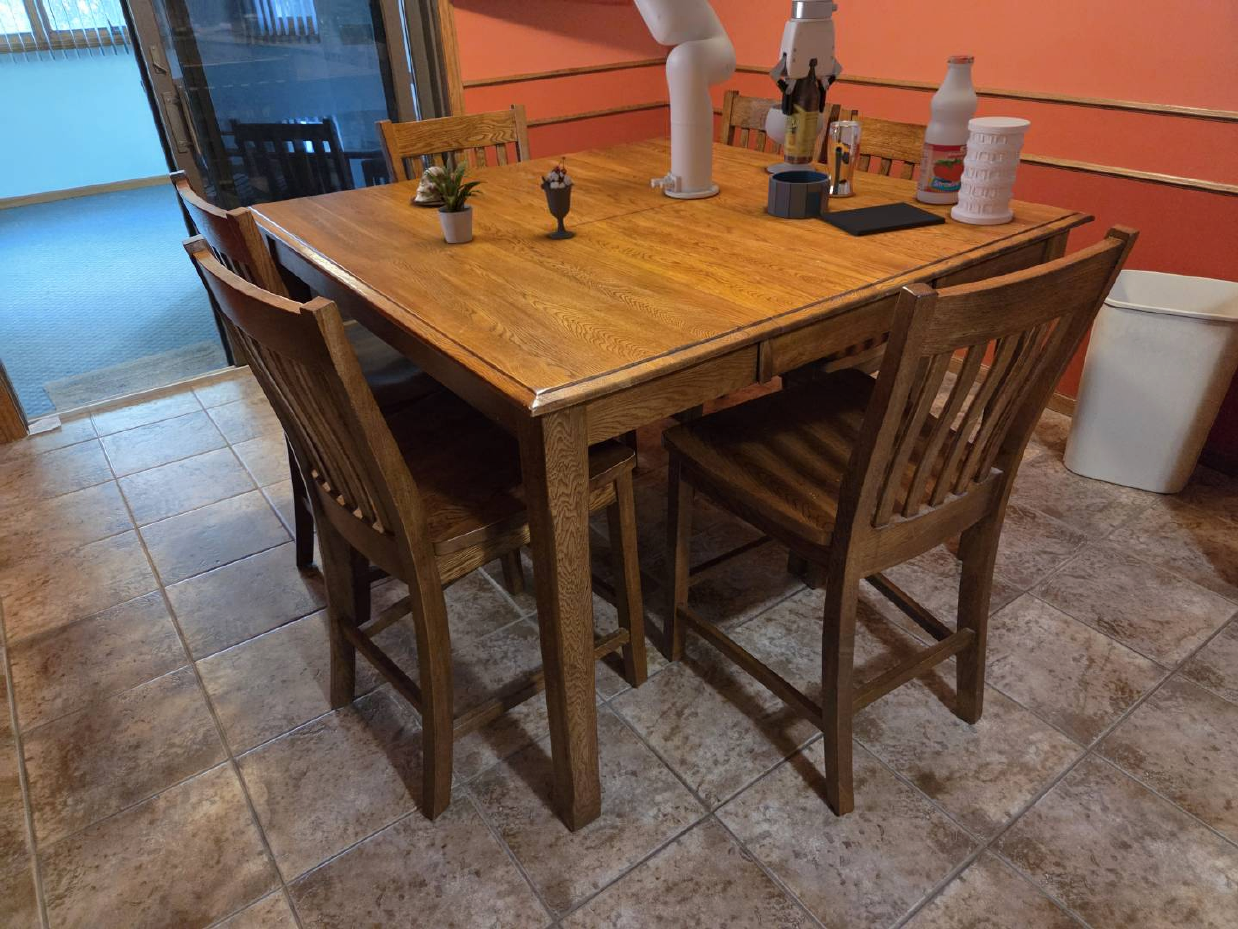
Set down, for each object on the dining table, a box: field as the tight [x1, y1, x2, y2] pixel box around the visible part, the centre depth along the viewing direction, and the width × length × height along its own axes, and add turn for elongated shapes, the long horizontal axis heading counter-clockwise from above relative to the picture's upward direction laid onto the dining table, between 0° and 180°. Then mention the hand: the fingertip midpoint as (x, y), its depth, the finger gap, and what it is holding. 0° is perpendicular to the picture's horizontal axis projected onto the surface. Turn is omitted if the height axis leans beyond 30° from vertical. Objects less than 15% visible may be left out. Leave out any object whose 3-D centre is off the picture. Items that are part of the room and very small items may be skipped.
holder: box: [766, 170, 831, 220], centre depth 172 cm, size 13×13×7 cm
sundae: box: [540, 156, 575, 240], centre depth 162 cm, size 7×7×15 cm
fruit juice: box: [915, 54, 979, 205], centre depth 169 cm, size 9×9×28 cm
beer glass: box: [826, 120, 862, 198], centre depth 180 cm, size 7×7×15 cm
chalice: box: [764, 103, 824, 174], centre depth 202 cm, size 14×14×15 cm
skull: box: [410, 166, 459, 206], centre depth 193 cm, size 12×10×10 cm
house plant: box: [415, 156, 485, 244], centre depth 161 cm, size 14×14×16 cm
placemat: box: [819, 201, 946, 237], centre depth 165 cm, size 20×14×1 cm
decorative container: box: [950, 116, 1031, 226], centre depth 160 cm, size 12×12×18 cm
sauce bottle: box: [783, 58, 820, 165], centre depth 164 cm, size 7×6×20 cm
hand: (802, 112), depth 164 cm, fingers closed on sauce bottle, 6 cm apart
